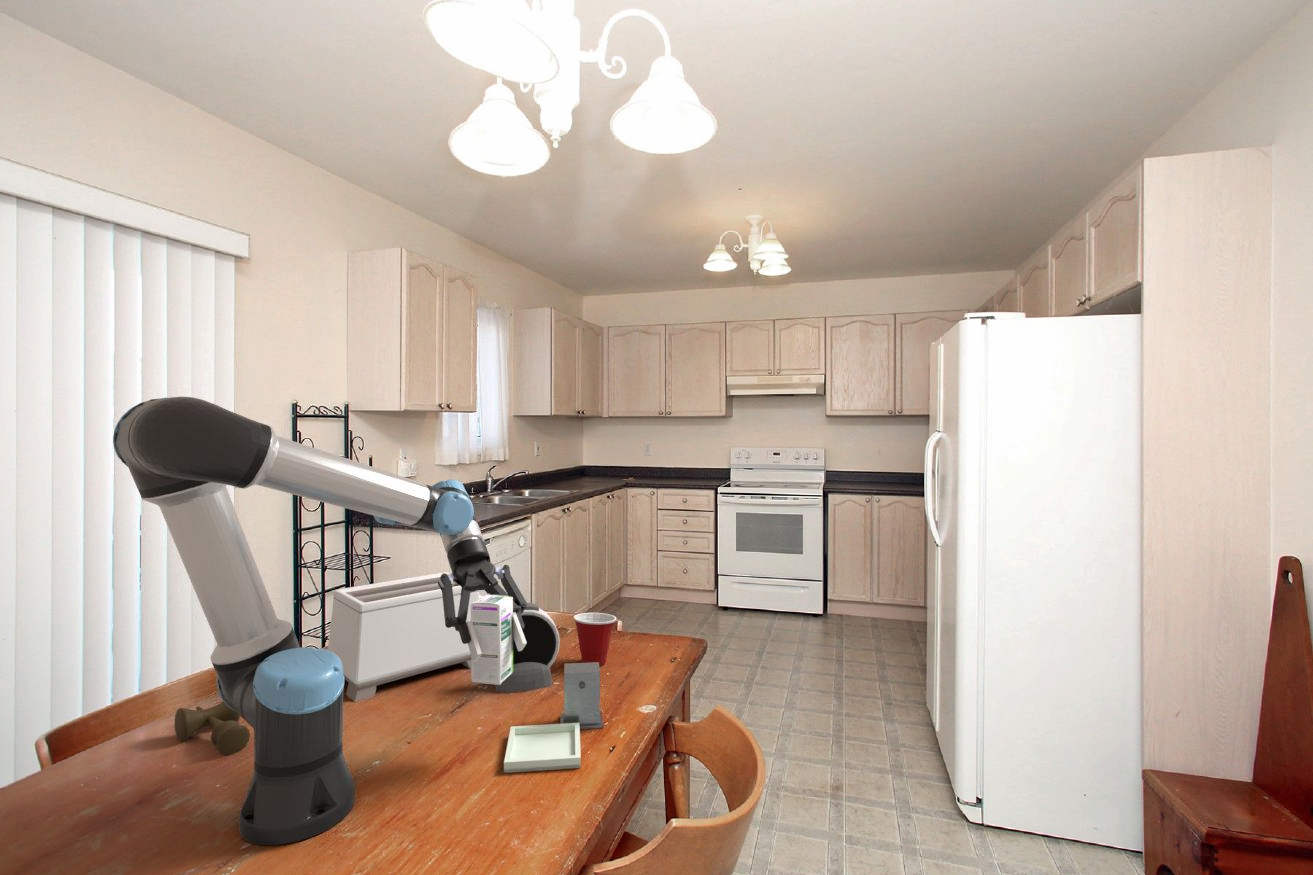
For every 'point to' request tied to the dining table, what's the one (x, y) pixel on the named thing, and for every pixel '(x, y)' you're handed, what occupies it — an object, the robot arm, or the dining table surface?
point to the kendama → (213, 727)
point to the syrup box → (493, 638)
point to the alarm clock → (533, 653)
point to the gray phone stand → (582, 695)
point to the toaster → (394, 632)
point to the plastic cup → (594, 636)
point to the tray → (543, 747)
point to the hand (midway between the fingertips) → (500, 652)
